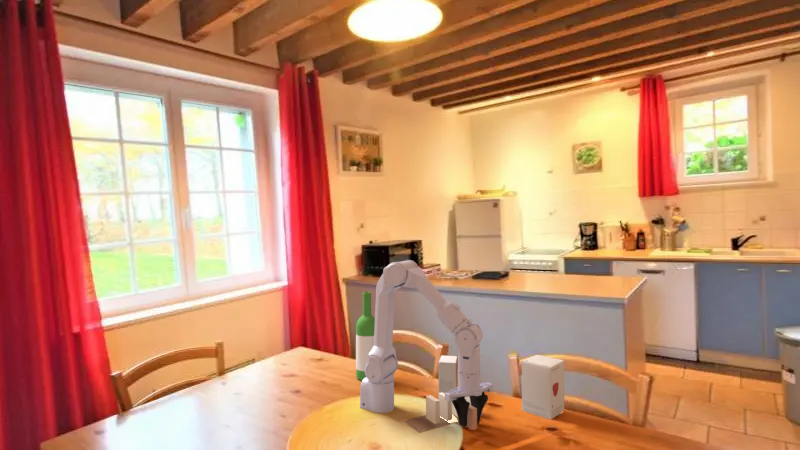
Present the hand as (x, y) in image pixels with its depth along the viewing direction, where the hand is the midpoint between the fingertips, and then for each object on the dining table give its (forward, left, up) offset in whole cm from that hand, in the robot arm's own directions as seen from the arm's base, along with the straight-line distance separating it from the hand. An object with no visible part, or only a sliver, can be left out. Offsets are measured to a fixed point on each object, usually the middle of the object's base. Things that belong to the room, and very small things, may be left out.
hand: (469, 423), depth 115 cm
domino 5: (0, 0, -2) cm, 2 cm away
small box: (-15, +22, -2) cm, 27 cm away
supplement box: (+15, +20, -2) cm, 25 cm away
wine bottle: (-45, +20, -2) cm, 49 cm away
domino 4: (-4, +9, -1) cm, 9 cm away
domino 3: (-6, +5, -1) cm, 8 cm away
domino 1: (-10, -2, -1) cm, 10 cm away
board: (-8, +2, -1) cm, 8 cm away
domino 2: (-8, +2, -1) cm, 8 cm away
